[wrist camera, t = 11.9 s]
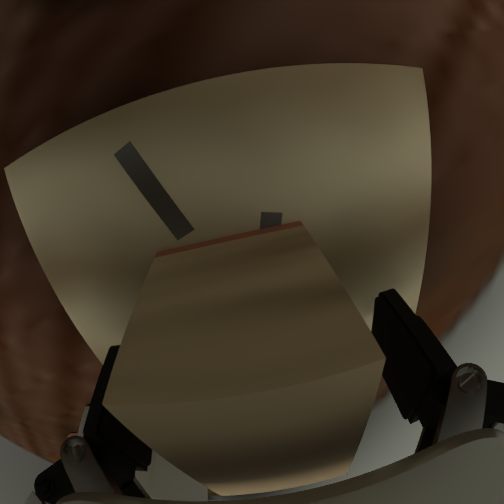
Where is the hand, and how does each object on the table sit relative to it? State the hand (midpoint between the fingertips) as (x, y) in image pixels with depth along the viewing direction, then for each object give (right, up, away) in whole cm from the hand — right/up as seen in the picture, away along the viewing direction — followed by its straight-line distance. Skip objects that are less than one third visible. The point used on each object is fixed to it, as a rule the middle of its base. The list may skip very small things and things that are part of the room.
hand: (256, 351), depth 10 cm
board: (-1, +4, +1) cm, 4 cm away
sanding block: (0, +1, +1) cm, 2 cm away
